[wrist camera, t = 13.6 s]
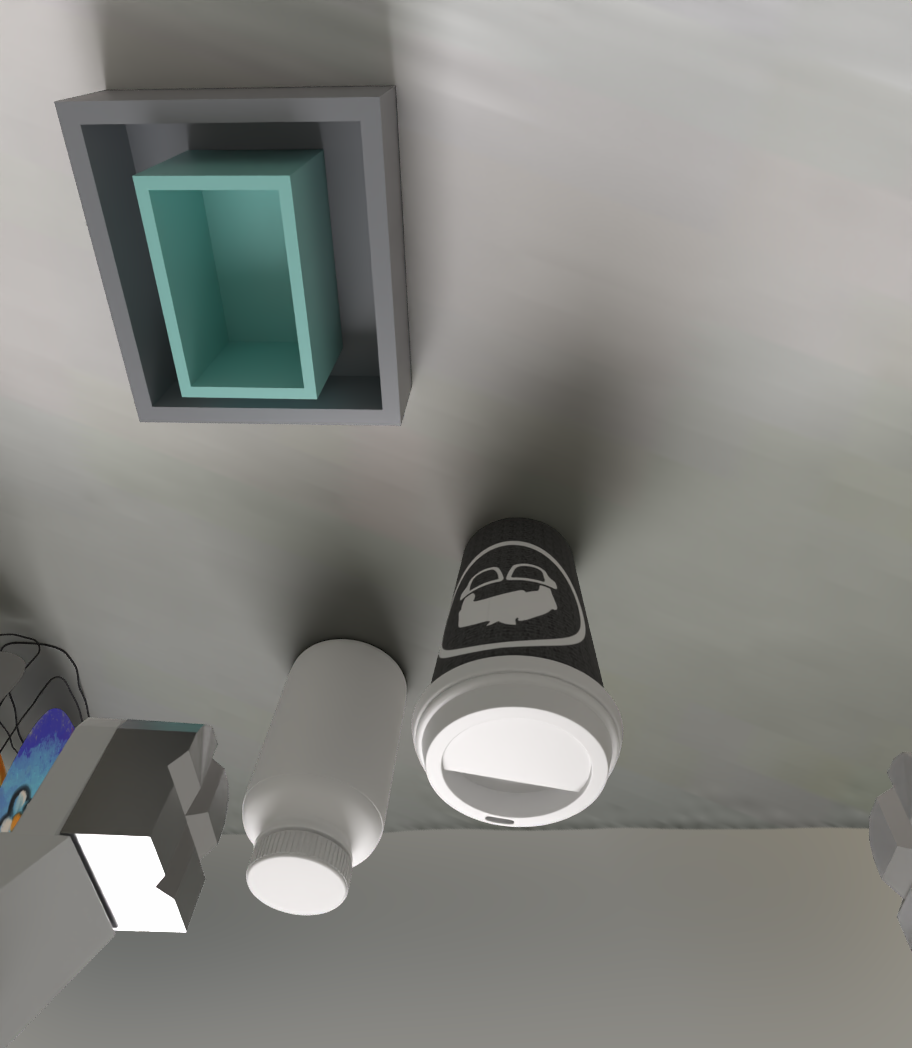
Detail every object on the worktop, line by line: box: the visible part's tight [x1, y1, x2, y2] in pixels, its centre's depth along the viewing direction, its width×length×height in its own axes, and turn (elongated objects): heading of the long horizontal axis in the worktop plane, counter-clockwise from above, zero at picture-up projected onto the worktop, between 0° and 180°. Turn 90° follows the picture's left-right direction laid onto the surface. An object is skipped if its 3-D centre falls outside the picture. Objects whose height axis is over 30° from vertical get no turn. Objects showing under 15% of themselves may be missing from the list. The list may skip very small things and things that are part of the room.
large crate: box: [54, 86, 412, 426], centre depth 35 cm, size 13×14×4 cm
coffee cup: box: [412, 518, 623, 827], centre depth 40 cm, size 10×10×15 cm
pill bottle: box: [242, 639, 407, 915], centre depth 47 cm, size 8×8×15 cm
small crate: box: [132, 149, 343, 399], centre depth 34 cm, size 6×9×6 cm, turn 1°
